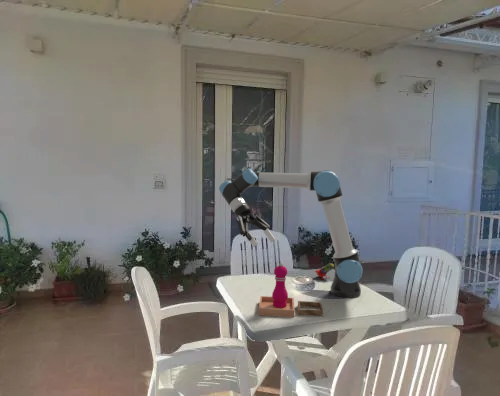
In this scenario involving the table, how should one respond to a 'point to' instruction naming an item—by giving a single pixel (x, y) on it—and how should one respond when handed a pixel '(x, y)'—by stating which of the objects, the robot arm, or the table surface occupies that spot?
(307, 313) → the small wooden tray
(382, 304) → the table surface
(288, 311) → the terracotta tray
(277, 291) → the pepper mill
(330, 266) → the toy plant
